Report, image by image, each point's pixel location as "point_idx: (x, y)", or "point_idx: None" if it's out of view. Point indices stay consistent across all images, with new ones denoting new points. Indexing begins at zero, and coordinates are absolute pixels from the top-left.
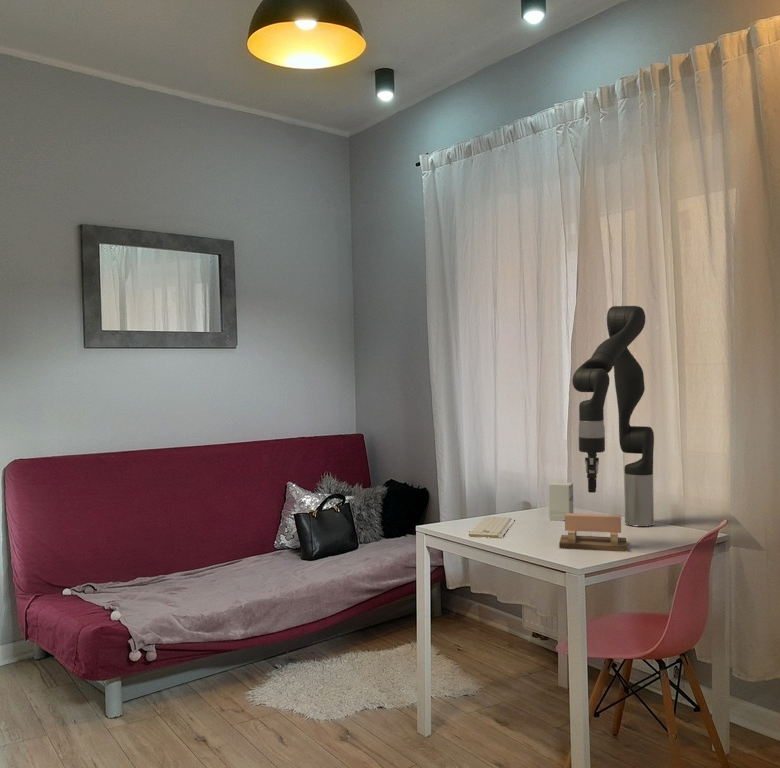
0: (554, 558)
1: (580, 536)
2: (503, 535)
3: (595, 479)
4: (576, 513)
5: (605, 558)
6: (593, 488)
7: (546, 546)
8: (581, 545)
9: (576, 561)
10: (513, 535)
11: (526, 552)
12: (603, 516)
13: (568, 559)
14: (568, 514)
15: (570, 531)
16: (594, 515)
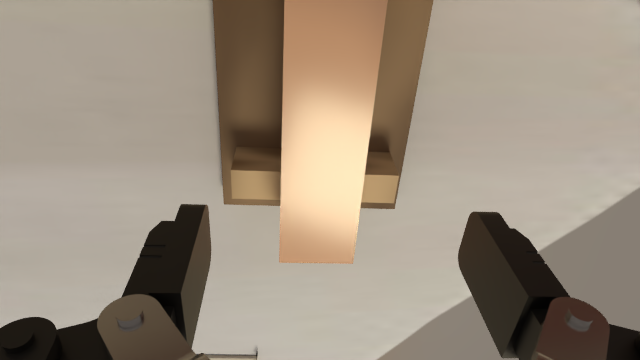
0: (553, 207)
1: (238, 129)
2: (219, 357)
3: (578, 306)
4: (282, 213)
5: (578, 22)
6: (528, 251)
7: (361, 236)
8: (408, 125)
9: (611, 138)
10: (197, 333)
11: (460, 284)
12: (367, 62)
13: (575, 165)
14: (323, 249)
15: (366, 194)
16: (335, 118)
